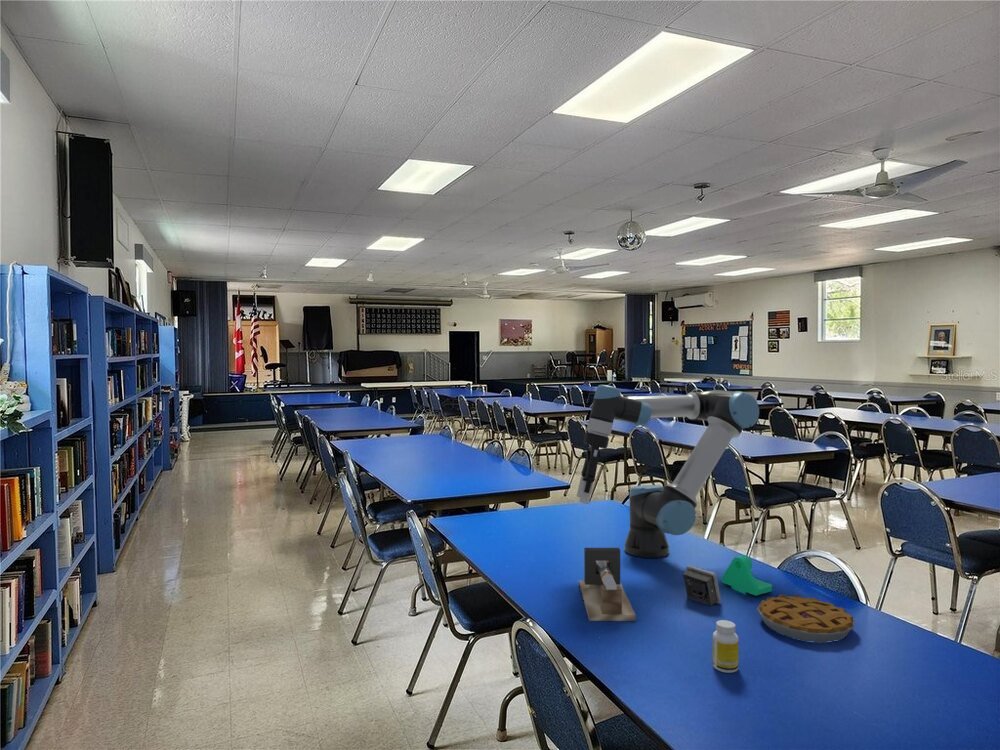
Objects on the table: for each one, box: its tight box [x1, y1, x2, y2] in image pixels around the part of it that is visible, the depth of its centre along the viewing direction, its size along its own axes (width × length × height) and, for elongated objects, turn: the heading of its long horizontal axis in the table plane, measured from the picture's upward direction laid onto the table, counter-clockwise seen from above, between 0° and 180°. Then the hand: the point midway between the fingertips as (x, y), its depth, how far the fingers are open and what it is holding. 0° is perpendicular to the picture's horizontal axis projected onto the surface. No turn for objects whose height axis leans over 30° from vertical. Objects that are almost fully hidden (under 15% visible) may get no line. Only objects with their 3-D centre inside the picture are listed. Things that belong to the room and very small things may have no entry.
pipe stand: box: [578, 561, 637, 622], centre depth 175 cm, size 12×25×8 cm, turn 179°
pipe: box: [596, 561, 618, 595], centre depth 175 cm, size 3×24×3 cm, turn 179°
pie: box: [756, 594, 856, 642], centre depth 159 cm, size 22×22×5 cm
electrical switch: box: [682, 564, 722, 607], centre depth 175 cm, size 9×5×9 cm, turn 38°
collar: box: [583, 547, 621, 585], centre depth 181 cm, size 10×2×10 cm, turn 89°
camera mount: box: [721, 554, 773, 596], centre depth 183 cm, size 12×8×10 cm, turn 29°
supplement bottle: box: [712, 619, 740, 674], centre depth 138 cm, size 5×5×10 cm
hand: (581, 500), depth 196 cm, fingers open, 13 cm apart
